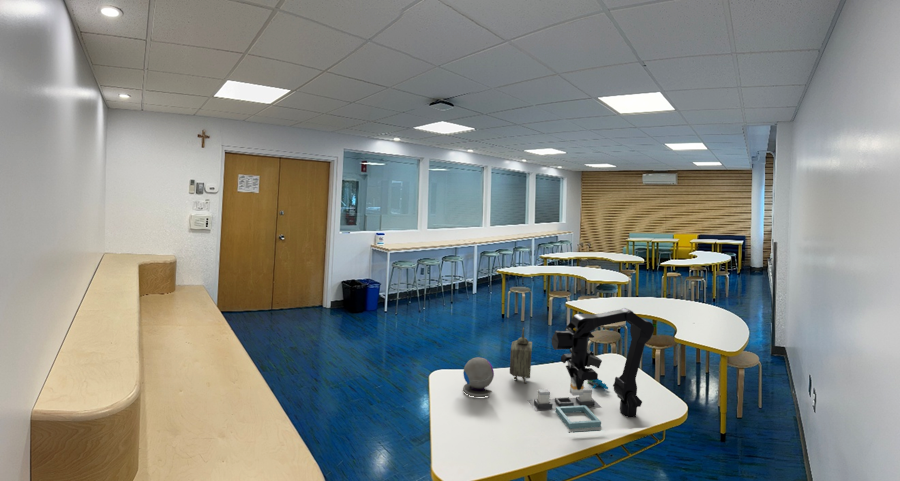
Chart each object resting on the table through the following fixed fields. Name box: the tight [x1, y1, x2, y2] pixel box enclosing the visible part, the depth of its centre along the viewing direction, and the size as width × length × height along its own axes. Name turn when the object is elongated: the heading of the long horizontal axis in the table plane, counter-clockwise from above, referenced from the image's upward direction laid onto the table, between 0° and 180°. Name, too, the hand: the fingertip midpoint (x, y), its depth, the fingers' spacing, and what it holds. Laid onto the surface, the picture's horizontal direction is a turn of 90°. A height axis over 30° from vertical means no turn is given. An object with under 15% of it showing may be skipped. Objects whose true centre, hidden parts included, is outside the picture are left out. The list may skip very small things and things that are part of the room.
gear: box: [587, 378, 609, 390], centre depth 195 cm, size 11×6×10 cm
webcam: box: [462, 356, 495, 397], centre depth 189 cm, size 13×13×15 cm
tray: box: [554, 405, 602, 434], centre depth 167 cm, size 12×12×4 cm
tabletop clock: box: [509, 327, 533, 385], centre depth 201 cm, size 14×9×25 cm, turn 168°
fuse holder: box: [527, 396, 603, 412], centre depth 179 cm, size 9×28×3 cm, turn 100°
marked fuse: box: [569, 377, 585, 397], centre depth 167 cm, size 3×4×6 cm, turn 100°
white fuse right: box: [578, 386, 593, 401], centre depth 180 cm, size 3×4×6 cm, turn 100°
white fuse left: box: [536, 388, 551, 404], centre depth 177 cm, size 3×4×6 cm, turn 100°
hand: (577, 388), depth 167 cm, fingers closed on marked fuse, 3 cm apart
